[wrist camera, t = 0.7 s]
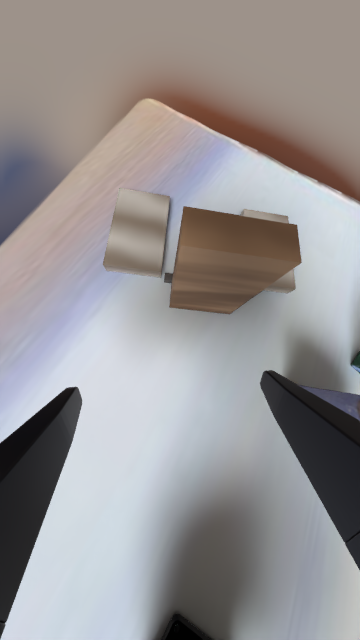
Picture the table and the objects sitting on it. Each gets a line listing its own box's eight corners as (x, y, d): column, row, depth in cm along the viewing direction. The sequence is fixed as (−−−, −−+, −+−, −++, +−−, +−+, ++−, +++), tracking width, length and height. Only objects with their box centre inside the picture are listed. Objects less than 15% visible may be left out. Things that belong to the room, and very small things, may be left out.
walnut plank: (229, 314, 23) (301, 262, 11) (169, 307, 22) (180, 245, 11) (229, 293, 24) (297, 224, 12) (171, 285, 23) (183, 206, 11)
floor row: (287, 297, 24) (295, 293, 23) (105, 274, 22) (101, 268, 21) (281, 223, 28) (287, 216, 26) (121, 197, 25) (119, 187, 24)
